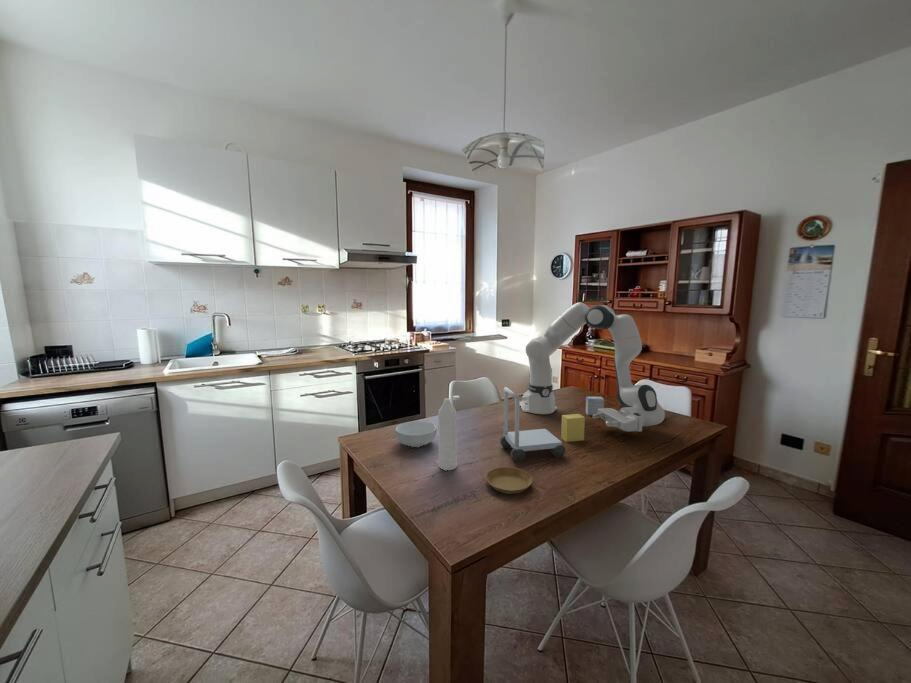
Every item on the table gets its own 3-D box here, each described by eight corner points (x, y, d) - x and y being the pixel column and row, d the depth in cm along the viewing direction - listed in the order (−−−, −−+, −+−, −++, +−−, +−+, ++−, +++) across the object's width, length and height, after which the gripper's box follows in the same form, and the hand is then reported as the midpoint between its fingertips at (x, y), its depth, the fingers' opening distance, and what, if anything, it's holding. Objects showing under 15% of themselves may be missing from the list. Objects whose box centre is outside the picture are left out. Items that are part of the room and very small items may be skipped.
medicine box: (601, 413, 185) (601, 396, 184) (603, 415, 181) (604, 399, 180) (585, 412, 186) (585, 396, 185) (587, 415, 182) (588, 398, 181)
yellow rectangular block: (561, 437, 154) (561, 415, 153) (578, 436, 156) (579, 413, 155) (566, 441, 150) (567, 418, 149) (583, 440, 152) (584, 417, 150)
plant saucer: (508, 469, 127) (508, 462, 127) (541, 487, 115) (542, 479, 115) (476, 483, 119) (476, 475, 118) (508, 503, 107) (508, 495, 106)
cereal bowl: (445, 443, 150) (444, 426, 149) (414, 456, 138) (414, 438, 137) (418, 432, 161) (417, 417, 160) (387, 444, 149) (387, 427, 148)
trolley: (499, 447, 145) (500, 387, 142) (548, 442, 150) (549, 383, 146) (512, 462, 132) (513, 396, 129) (565, 457, 136) (567, 393, 133)
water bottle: (447, 472, 125) (446, 402, 122) (435, 466, 130) (434, 398, 126) (465, 464, 131) (464, 397, 127) (453, 458, 136) (452, 394, 132)
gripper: (613, 403, 167) (586, 406, 164) (645, 418, 147) (615, 421, 144) (613, 416, 168) (586, 419, 165) (644, 432, 148) (614, 436, 145)
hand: (599, 420), depth 154 cm, fingers open, 8 cm apart
